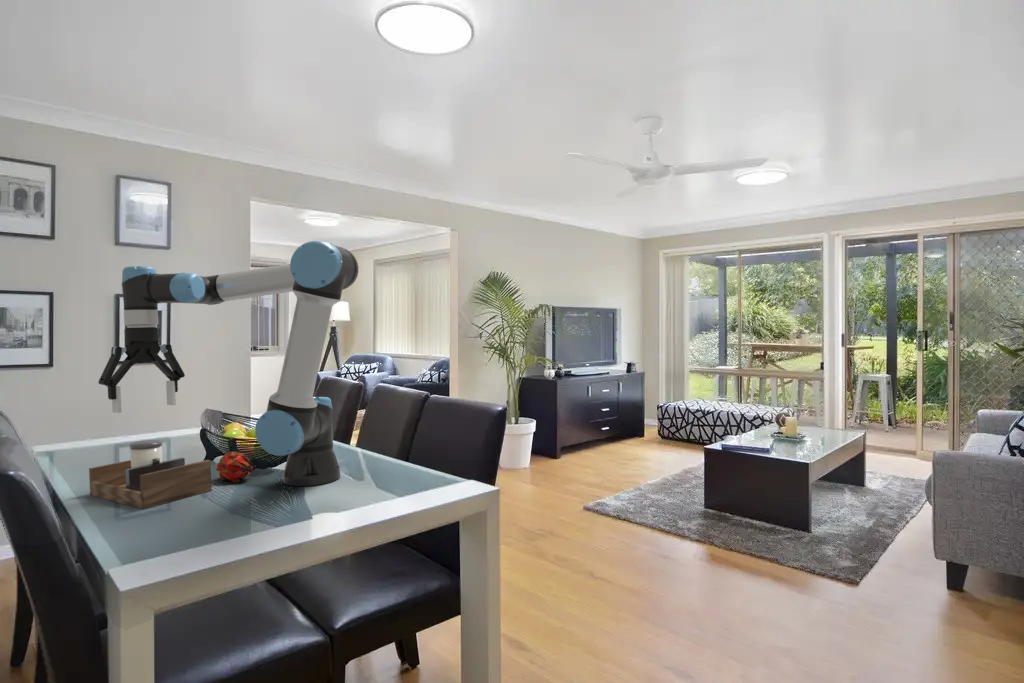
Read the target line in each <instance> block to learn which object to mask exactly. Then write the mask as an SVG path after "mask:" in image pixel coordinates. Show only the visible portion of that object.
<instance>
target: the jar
mask: <svg viewBox="0 0 1024 683" xmlns="http://www.w3.org/2000/svg"><path fill="white" fill-rule="evenodd" d="M129 449H130V460H131V468H134V467H139V466H144V465H148V464H153V463H152V459H155V458H160V462H163V440H161V439H147V440H141V441H140V440H139V441H135V442H131V443H129Z"/></svg>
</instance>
